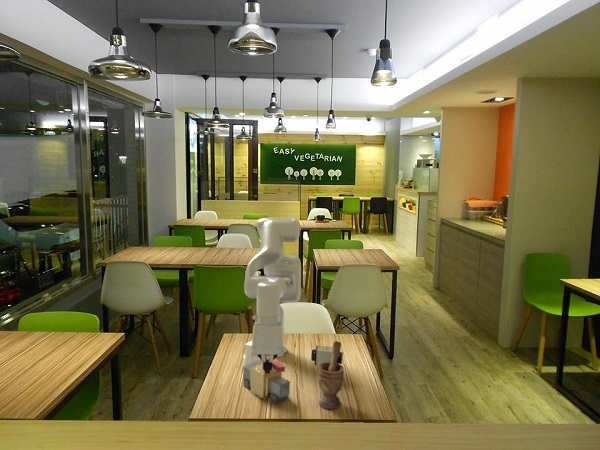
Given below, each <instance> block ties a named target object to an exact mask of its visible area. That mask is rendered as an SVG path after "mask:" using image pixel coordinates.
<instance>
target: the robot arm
mask: <svg viewBox="0 0 600 450" xmlns="http://www.w3.org/2000/svg"><path fill="white" fill-rule="evenodd" d="M256 230H257V233H258V235H259V238H260V243H259V245H260V247H259V252H258V253H257V254H256V255H254V257H253V258H251V260H249V262H248V264H247V266H246V269H245V274H244V275H245V276H244V285H243V287H244V289H243V290H244V294H245V295H246V297H248V298H251V299H256V314H254V315H251V319H252V320H254V323H253V328H252V336H251V337H252V338H251V339H252V340H251V341H252V353H251V354H252V355H253V356H258V357H259V358H260V359H261V360H262V362H263V370H265V374H266V373H268V374H270V370H272V362H273V360H274V359H277V357H283V356H284V354H286V353H287V351H288V347H287V345H285V344H284V337H285V335H284V330H285V328H284V327H285V321H284V320H285V313H284V309H283V307H282V306H281V303H297V302H299V300H300V298H301V293H302V263H301V259H300V257H298V255H297V256H296V255H285V254H284V252H285V251H284V250H285V248H284V245H285V243H297V241H299V238H300V234H301V231H300V230H301V228H300V222H299V220H298V218H292V217H263V218H259V219H258V220H257V222H256ZM261 269H263V273H264V275H255V273H257V272H258V271H259V270H261ZM284 278H285V279H284ZM287 278H288V279H287ZM266 355H270V357H269V359H268V360H267V358H266Z"/></svg>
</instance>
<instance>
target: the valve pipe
mask: <svg viewBox="0 0 600 450" xmlns="http://www.w3.org/2000/svg"><path fill="white" fill-rule="evenodd" d="M242 367H243V368H242V369H243V371H242V374H243V375H242V378H243V382H242V383H243V385H242V386H243V387H245V388H247V389H250V393H252V394H254V396H257V397H259V398H260V399H262V400H265V399H266V398H269V401H270V402H271V403H273V404H275V405H278V404H280V403H282V402H284V401H287V400H288V399H290V390H291V389H290V388H291V387H290V385H291V384H290V383H291V381H290V380H288V379H285V378H284V377H283V376H282V374H283V372H280V373H277V372H276V371H275V370H274V369H273V368H272V370H270V374H268V373H266V374H265V370H263V364H260V365H256V364H254V363H252V364H249V365H246V366H242Z"/></svg>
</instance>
